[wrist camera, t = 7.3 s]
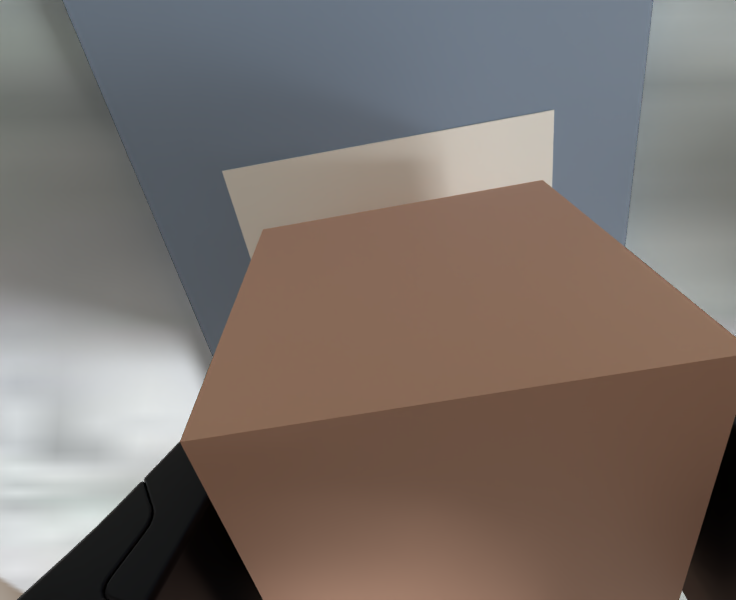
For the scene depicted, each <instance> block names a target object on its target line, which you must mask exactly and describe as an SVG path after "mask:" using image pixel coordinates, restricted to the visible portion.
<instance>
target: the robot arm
mask: <svg viewBox="0 0 736 600" xmlns="http://www.w3.org/2000/svg"><path fill="white" fill-rule="evenodd" d="M144 482H145V483H144ZM144 482H140V483H139V484H138V485H137V486H136V487H135V488H134V489H133V490H132V491H131V492H130V493H129V494H128V495H127V497H126V498H125V499H124V500H123V501H122V502H121V503H120V504H119V505H118V506H117V507H116V508H115V509H114V510H113V511H112V512H111V513H110V514H109V515H108V516H107V517H106V518H105V519H104V520H103V521H102V522H101V523H100V524H99V525H98V526H97V527H96V528H94V529H93V530H92V531H91V532H90V533H89V534H88V535H87V536H86V537H85V538H84V539H83V540H82V541H81V542H79V543H78V544H77V545H76V546H75V547H74V548H73V549H72V550H71V551H70V552H69V553H68V554H67V555H66V556H64V557H63V558H62V559H61V560H60V561H59V562H58V563H57V564H56V565H55V566H53V567H52V568H51V569H50V570H49V571H48V572H47V573H46V574H45V575H44V576H42V577H41V578H40V579H39V580H38V581H37V582H36V583H35V584H34V585H32V586H31V587H30V588H29V589H28V590H27V591H26V592H25V593H24V594H23V595H21V596H20V597H19V598H18V599H17V600H263V599H262V597H261V595H260V593H259V591H258V589H257V587H256V586H255V584H254V582H253V580H252V578H251V576H250V574H249V572H248V570H247V569H246V567H245V565H244V563H243V561H242V559H241V557H240V555H239V553H238V551H237V550H236V548H235V546H234V544H233V542H232V540H231V538H230V536H229V534H228V532H227V531H226V529H225V527H224V525H223V523H222V521H221V519H220V517H219V515H218V514H217V512H216V510H215V508H214V506H213V504H212V502H211V500H210V498H209V496H208V495H207V493H206V491H205V489H204V487H203V485H202V483H201V481H200V479H199V477H198V476H197V474H196V472H195V470H194V468H193V466H192V464H191V462H190V460H189V459H188V457H187V455H186V453H185V451H184V449H183V447H182V445H181V443H180V442H179V443H178V444H177V445H176V446H175V447H174V448H173V449H172V450H171V451H170V452H169V453H168V454H167V455H166V456H165V457H164V458H163V459H162V460H161V461H160V463H159V464H158V465H157V466H156V467H155V468H154V469H153V470H152V471H151V472H150V473H149V474H148V475H147V476H146V477H145V478H144ZM682 591H683V593H684V594H685V596H686V598H687V600H736V415H735V419H734V422H733V425H732V428H731V432H730V435H729V438H728V441H727V445H726V448H725V451H724V455H723V458H722V461H721V464H720V468H719V471H718V474H717V477H716V481H715V484H714V487H713V490H712V494H711V497H710V500H709V504H708V507H707V510H706V513H705V517H704V520H703V523H702V526H701V530H700V533H699V536H698V540H697V543H696V546H695V549H694V553H693V556H692V559H691V562H690V566H689V569H688V572H687V575H686V579H685V582H684V585H683V589H682Z"/></svg>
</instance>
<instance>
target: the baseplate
mask: <svg viewBox="0 0 736 600" xmlns="http://www.w3.org/2000/svg"><path fill="white" fill-rule="evenodd" d="M62 1H63V3H64V5H65V8H66V10H67V12H68V15H69V17H70V20H71V22H72V24H73V27H74V29H75V31H76V34H77V36H78V38H79V41H80V43H81V46H82V48H83V50H84V53H85V55H86V57H87V60H88V62H89V65H90V67H91V69H92V72H93V74H94V76H95V79H96V81H97V83H98V86H99V88H100V91H101V93H102V95H103V98H104V100H105V102H106V105H107V107H108V109H109V112H110V114H111V117H112V119H113V121H114V124H115V126H116V128H117V131H118V133H119V136H120V138H121V140H122V143H123V145H124V147H125V150H126V152H127V154H128V157H129V159H130V162H131V164H132V166H133V169H134V171H135V173H136V176H137V178H138V180H139V183H140V185H141V188H142V190H143V192H144V195H145V197H146V199H147V202H148V204H149V207H150V209H151V211H152V214H153V216H154V218H155V221H156V223H157V225H158V228H159V230H160V233H161V235H162V237H163V240H164V242H165V244H166V247H167V249H168V251H169V254H170V256H171V259H172V261H173V263H174V266H175V268H176V270H177V273H178V275H179V278H180V280H181V282H182V285H183V287H184V289H185V292H186V294H187V296H188V299H189V301H190V304H191V306H192V308H193V311H194V313H195V315H196V318H197V320H198V322H199V325H200V327H201V330H202V332H203V334H204V337H205V339H206V341H207V344H208V346H209V349H210V351H211V353H212V356H214V353H215V351H216V348H217V346H218V343H219V341H220V338H221V335H222V333H223V330H224V328H225V325H226V323H227V320H228V318H229V315H230V312H231V310H232V307H233V305H234V302H235V300H236V297H237V295H238V292H239V289H240V287H241V284H242V282H243V279H244V277H245V274H246V272H247V269H248V266H249V264H250V261H251V259H252V256H253V254H254V251H255V249H256V246H257V243H258V241H259V238H260V236H261V233H262V231H263V229H268V228H274V227H280V226H285V225H291V224H297V223H302V222H308V221H314V220H319V219H325V218H330V217H336V216H342V215H347V214H353V213H359V212H364V211H370V210H376V209H381V208H387V207H393V206H398V205H404V204H409V203H415V202H421V201H426V200H432V199H438V198H443V197H449V196H455V195H460V194H466V193H472V192H477V191H483V190H488V189H494V188H500V187H505V186H511V185H517V184H522V183H528V182H534V181H539V180H543V181H545V182H546V183H547V184H548V185H550V186H551V187H552V188H553V189H554V190H556V191H557V192H558V193H559V194H561V195H562V196H563V197H564V198H565V199H567V200H568V201H569V202H570V203H572V204H573V205H574V206H575V207H577V208H578V209H579V210H580V211H581V212H583V213H584V214H585V215H586V216H588V217H589V218H590V219H591V220H592V221H594V222H595V223H596V224H597V225H599V226H600V227H601V228H602V229H604V230H605V231H606V232H607V233H608V234H610V235H611V236H612V237H613V238H615V239H616V240H617V241H618V242H620V243H621V244H622V245H623V246H624V247H625V241H626V233H627V224H628V215H629V207H630V198H631V189H632V181H633V172H634V163H635V155H636V146H637V138H638V129H639V120H640V112H641V103H642V94H643V86H644V77H645V68H646V60H647V51H648V42H649V34H650V25H651V16H652V8H653V0H62Z"/></svg>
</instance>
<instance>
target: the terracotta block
mask: <svg viewBox="0 0 736 600" xmlns="http://www.w3.org/2000/svg"><path fill="white" fill-rule="evenodd" d="M735 415H736V337H735V336H734V335H732V334H731V333H730V332H729V331H728V330H726V329H725V328H724V327H723V326H721V325H720V324H719V323H718V322H717V321H715V320H714V319H713V318H712V317H710V316H709V315H708V314H707V313H705V312H704V311H703V310H702V309H701V308H699V307H698V306H697V305H696V304H694V303H693V302H692V301H691V300H690V299H688V298H687V297H686V296H685V295H683V294H682V293H681V292H680V291H678V290H677V289H676V288H675V287H674V286H672V285H671V284H670V283H669V282H667V281H666V280H665V279H664V278H662V277H661V276H660V275H659V274H658V273H656V272H655V271H654V270H653V269H651V268H650V267H649V266H648V265H647V264H645V263H644V262H643V261H642V260H640V259H639V258H638V257H637V256H635V255H634V254H633V253H632V252H631V251H629V250H628V249H627V248H626V247H624V246H623V245H622V244H621V243H620V242H618V241H617V240H616V239H615V238H613V237H612V236H611V235H610V234H608V233H607V232H606V231H605V230H604V229H602V228H601V227H600V226H599V225H597V224H596V223H595V222H594V221H592V220H591V219H590V218H589V217H588V216H586V215H585V214H584V213H583V212H581V211H580V210H579V209H578V208H577V207H575V206H574V205H573V204H572V203H570V202H569V201H568V200H567V199H565V198H564V197H563V196H562V195H561V194H559V193H558V192H557V191H556V190H554V189H553V188H552V187H551V186H550V185H548V184H547V183H546V182H545V181H543V180H539V181H534V182H528V183H522V184H517V185H511V186H505V187H500V188H494V189H488V190H483V191H477V192H472V193H466V194H460V195H455V196H449V197H443V198H438V199H432V200H426V201H421V202H415V203H409V204H404V205H398V206H393V207H387V208H381V209H376V210H370V211H364V212H359V213H353V214H347V215H342V216H336V217H330V218H325V219H319V220H314V221H308V222H302V223H297V224H291V225H285V226H280V227H274V228H268V229H263V231H262V233H261V236H260V238H259V241H258V243H257V246H256V249H255V251H254V254H253V256H252V259H251V261H250V264H249V266H248V269H247V272H246V274H245V277H244V279H243V282H242V284H241V287H240V289H239V292H238V295H237V297H236V300H235V302H234V305H233V307H232V310H231V312H230V315H229V318H228V320H227V323H226V325H225V328H224V330H223V333H222V335H221V338H220V341H219V343H218V346H217V348H216V351H215V353H214V356H213V358H212V361H211V364H210V366H209V369H208V371H207V374H206V376H205V379H204V381H203V384H202V387H201V389H200V392H199V394H198V397H197V399H196V402H195V405H194V407H193V410H192V412H191V415H190V417H189V420H188V422H187V425H186V428H185V430H184V433H183V435H182V438H181V440H180V443H181V445H182V447H183V449H184V451H185V453H186V455H187V457H188V459H189V460H190V462H191V464H192V466H193V468H194V470H195V472H196V474H197V476H198V477H199V479H200V481H201V483H202V485H203V487H204V489H205V491H206V493H207V495H208V496H209V498H210V500H211V502H212V504H213V506H214V508H215V510H216V512H217V514H218V515H219V517H220V519H221V521H222V523H223V525H224V527H225V529H226V531H227V532H228V534H229V536H230V538H231V540H232V542H233V544H234V546H235V548H236V550H237V551H238V553H239V555H240V557H241V559H242V561H243V563H244V565H245V567H246V569H247V570H248V572H249V574H250V576H251V578H252V580H253V582H254V584H255V586H256V587H257V589H258V591H259V593H260V595H261V597H262V599H263V600H679V598H680V595H681V592H682V589H683V585H684V582H685V579H686V575H687V572H688V569H689V566H690V562H691V559H692V556H693V553H694V549H695V546H696V543H697V540H698V536H699V533H700V530H701V526H702V523H703V520H704V517H705V513H706V510H707V507H708V504H709V500H710V497H711V494H712V490H713V487H714V484H715V481H716V477H717V474H718V471H719V468H720V464H721V461H722V458H723V455H724V451H725V448H726V445H727V441H728V438H729V435H730V432H731V428H732V425H733V422H734V419H735Z"/></svg>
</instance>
